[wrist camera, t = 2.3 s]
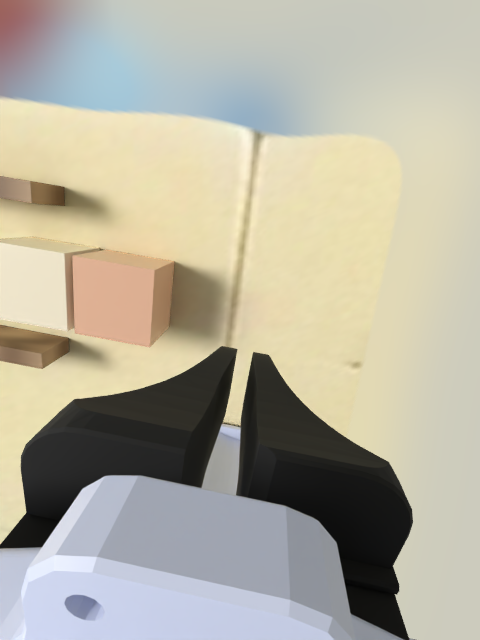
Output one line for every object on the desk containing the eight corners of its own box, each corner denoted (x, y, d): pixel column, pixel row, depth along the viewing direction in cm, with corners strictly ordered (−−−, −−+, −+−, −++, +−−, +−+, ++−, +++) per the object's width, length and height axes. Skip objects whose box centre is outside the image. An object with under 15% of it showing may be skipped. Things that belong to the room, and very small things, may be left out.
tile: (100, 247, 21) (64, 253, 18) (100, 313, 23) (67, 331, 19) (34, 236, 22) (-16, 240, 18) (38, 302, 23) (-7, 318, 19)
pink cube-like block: (175, 261, 21) (154, 270, 17) (169, 326, 23) (149, 347, 19) (107, 249, 21) (72, 255, 18) (106, 314, 23) (74, 333, 19)
